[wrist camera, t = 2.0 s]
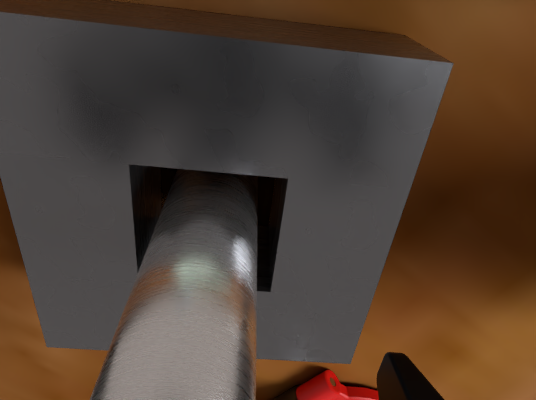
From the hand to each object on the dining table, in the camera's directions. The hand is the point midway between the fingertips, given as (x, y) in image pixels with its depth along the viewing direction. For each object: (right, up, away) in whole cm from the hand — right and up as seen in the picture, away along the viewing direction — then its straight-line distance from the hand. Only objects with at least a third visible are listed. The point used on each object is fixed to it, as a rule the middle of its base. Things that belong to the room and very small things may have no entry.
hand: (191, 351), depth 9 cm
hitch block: (0, +4, +7) cm, 8 cm away
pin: (0, +4, +7) cm, 8 cm away
